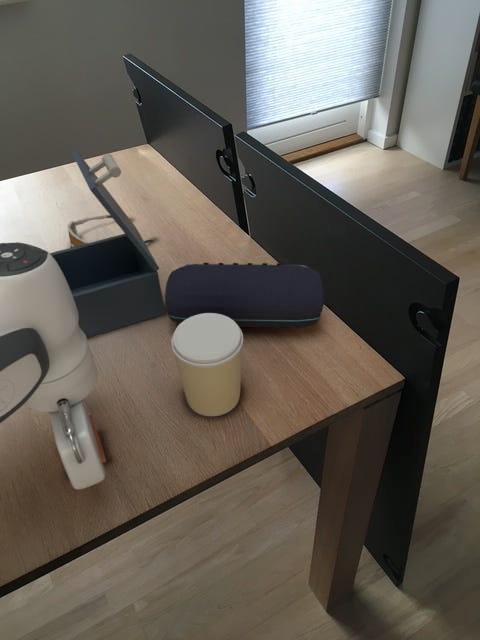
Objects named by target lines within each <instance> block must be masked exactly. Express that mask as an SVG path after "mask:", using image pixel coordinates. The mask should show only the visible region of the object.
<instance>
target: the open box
mask: <svg viewBox="0 0 480 640" xmlns="http://www.w3.org/2000/svg"><path fill="white" fill-rule="evenodd" d="M49 253H50V255H51V256H52V257H53V258H54V259H55V261H56V262H57V264H58V265H59V267H60V269H61V270H62V272H63V274H64V276H65V278H66V281H67V283H68V285H69V287H70V290H71V292H72V295H73V298H74V301H75V304H76V307H77V310H78V315H79V321H78V325H79V327H80V328H81V330H82V331H83V332H84V334H85V335H86V337H87V339H89V338H91V337H94V336H98V335H101V334H105V333H109V332H110V331H111V332H112V331H114V330H117V329H121V328H124V327H127V326H130V325H134V324H137V323H140V322H143V321H146V320H147V321H148V320H150V319H153V318H156V317H160V316H163V315H165V314H166V312H165V311H166V310H165V306H164V299H163V294H162V288H161V283H160V276H159V272H158V270H157V271H155V270H154V269H153V268H152V267H151V265H150V264H149V263H148V262H147V260H146V259H145V258H144V257H143V255H142V254H141V253H140V252H139V250H138V249H137V248H136V247H135V245H134V244H133V243H132V242H131V240H130V239H129V238H128V237H127V235H126V234H125V233H121V234H118V235H113V236H110V237H108V238H107V237H106V238H103V239H99V240H95V241H92V242H88V243H87V244H83V245H79V246H76V247H72V246H71V247H69V248H68V247H67V248H65V249H64V248H63V249H61V250H57V251H52V252H49Z"/></svg>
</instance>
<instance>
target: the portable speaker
mask: <svg viewBox="0 0 480 640" xmlns="http://www.w3.org/2000/svg"><path fill="white" fill-rule="evenodd" d="M164 292H165V293H164V302H165V308H166V312H167V314H168V318H169V320H171V322H174V323H176V324H178V325H180V324H181V323H182V322H183V321H184V320H186V319H188V318H190V317H192V316H195V315H198V314H203V313H216V314H221V315H224V316H227V317H229V318H231V319H232V320H233V321H234V322H235V323H236V324H237V325H238V326H239V328H240V327H241V328H244V327H245V328H304V327H310V326H313V325H316V324H318V323H319V321H320V318H321V316H322V312H323V309H324V305H325V287H324V286H323V282H322V278H321V276H320V273H319V272H318V271H316V270H315V269H313V268H312V267H309V266H306V265H304V264H283V263H282V262H277V263H276V264H268V262H263V263H261V264H254V263H253V262H247V264H239V262H233V263H232V264H229V263H228V264H226V263H224V262H218V264H217V263H209V262H203V263H189V264H188V263H187V264H184V265H183V266H179V268H178V267H177V268H176V269H174V270H172V271H171V272H170V274H169V275H168V278H167V281H166V283H165V291H164Z"/></svg>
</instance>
